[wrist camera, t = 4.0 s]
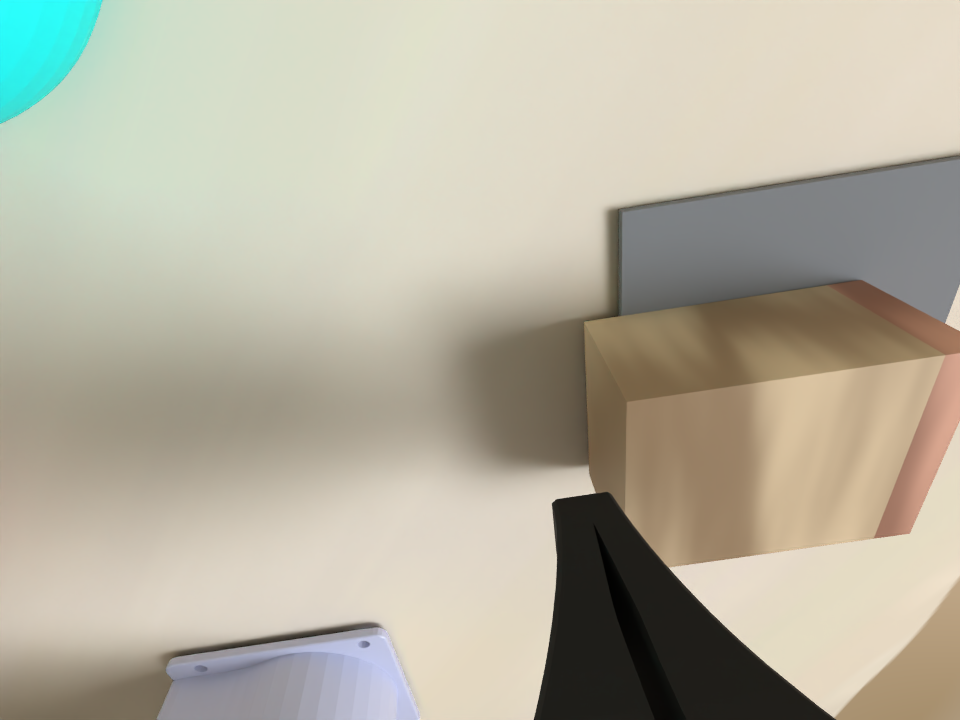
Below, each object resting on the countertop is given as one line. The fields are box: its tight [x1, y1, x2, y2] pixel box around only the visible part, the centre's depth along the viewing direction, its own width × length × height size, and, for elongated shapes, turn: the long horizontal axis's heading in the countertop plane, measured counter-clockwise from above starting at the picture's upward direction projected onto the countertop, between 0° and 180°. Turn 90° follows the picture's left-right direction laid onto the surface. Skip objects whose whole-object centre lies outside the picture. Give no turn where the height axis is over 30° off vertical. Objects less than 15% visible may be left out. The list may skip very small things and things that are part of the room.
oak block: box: [584, 280, 960, 567], centre depth 14 cm, size 4×6×8 cm
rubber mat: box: [619, 156, 960, 323], centre depth 16 cm, size 10×12×1 cm
